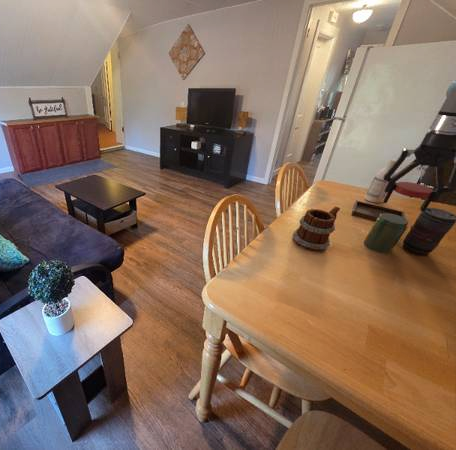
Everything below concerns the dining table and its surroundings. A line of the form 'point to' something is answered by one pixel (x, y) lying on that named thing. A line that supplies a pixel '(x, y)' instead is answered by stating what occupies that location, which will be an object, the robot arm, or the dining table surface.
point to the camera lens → (428, 231)
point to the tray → (372, 211)
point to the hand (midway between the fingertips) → (402, 205)
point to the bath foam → (379, 184)
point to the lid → (413, 190)
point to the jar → (386, 232)
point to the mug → (315, 229)
